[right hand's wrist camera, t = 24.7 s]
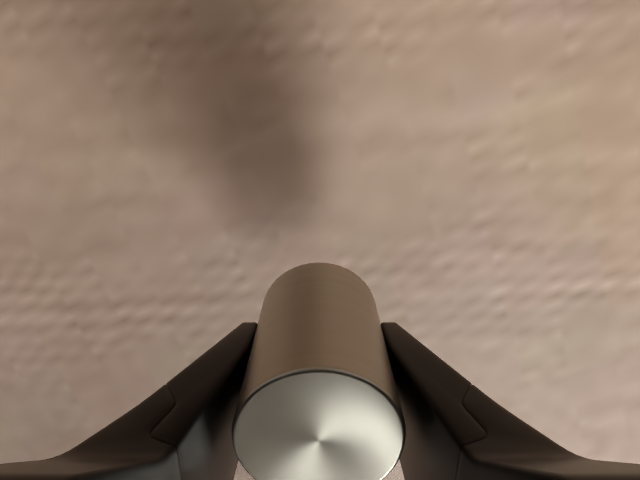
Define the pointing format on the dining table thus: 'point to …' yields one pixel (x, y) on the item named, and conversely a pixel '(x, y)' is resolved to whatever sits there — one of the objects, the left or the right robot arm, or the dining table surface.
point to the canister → (318, 383)
